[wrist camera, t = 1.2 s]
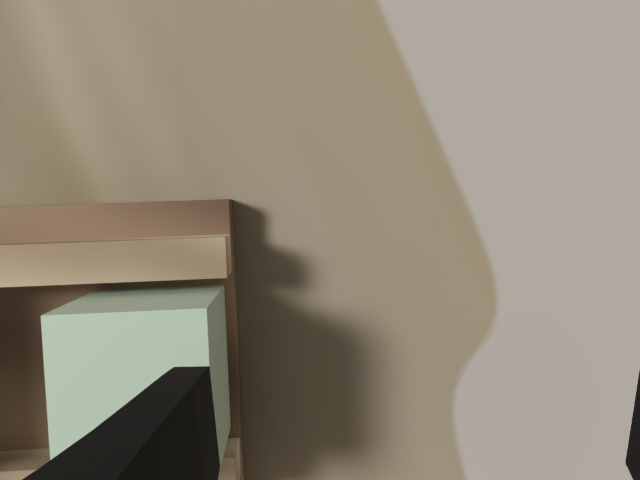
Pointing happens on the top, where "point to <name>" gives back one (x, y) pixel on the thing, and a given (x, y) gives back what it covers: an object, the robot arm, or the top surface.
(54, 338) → the block
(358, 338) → the top surface
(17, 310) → the track
